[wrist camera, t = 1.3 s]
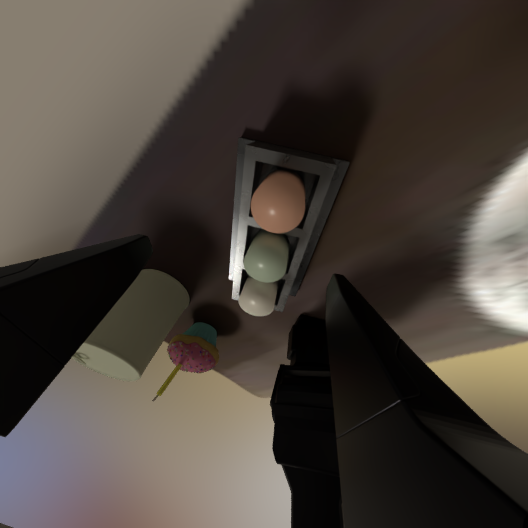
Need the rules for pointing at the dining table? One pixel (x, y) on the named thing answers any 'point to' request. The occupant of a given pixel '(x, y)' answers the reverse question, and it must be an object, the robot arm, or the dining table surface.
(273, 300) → the white egg
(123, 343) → the can
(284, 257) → the green rounded piece
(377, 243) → the dining table surface
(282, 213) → the brown egg
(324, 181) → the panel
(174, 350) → the cupcake
